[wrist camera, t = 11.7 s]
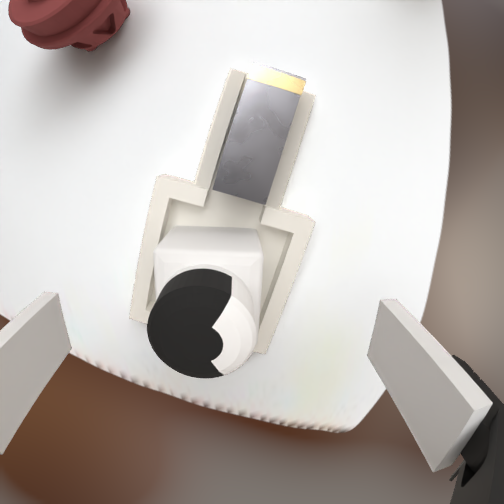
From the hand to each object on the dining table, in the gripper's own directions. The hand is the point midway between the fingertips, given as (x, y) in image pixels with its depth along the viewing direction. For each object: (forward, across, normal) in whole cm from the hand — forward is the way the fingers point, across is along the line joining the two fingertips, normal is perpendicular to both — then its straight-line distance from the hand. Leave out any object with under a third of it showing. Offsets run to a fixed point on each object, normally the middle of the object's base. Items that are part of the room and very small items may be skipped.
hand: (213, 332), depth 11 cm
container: (+18, -1, -4) cm, 18 cm away
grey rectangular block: (+17, +2, +8) cm, 19 cm away
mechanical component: (+19, -14, +22) cm, 32 cm away
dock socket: (+19, 0, +2) cm, 19 cm away
